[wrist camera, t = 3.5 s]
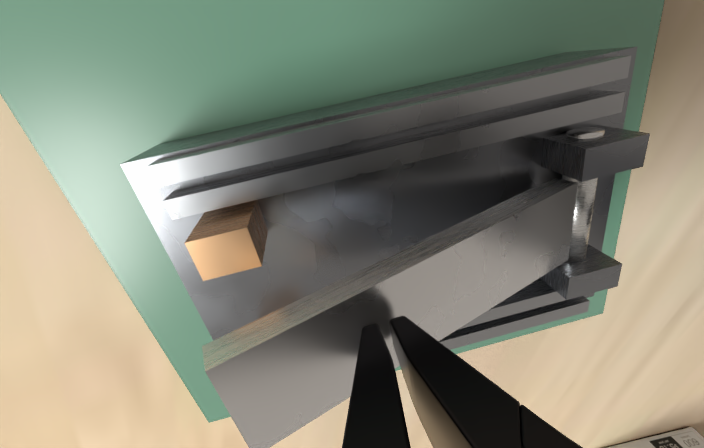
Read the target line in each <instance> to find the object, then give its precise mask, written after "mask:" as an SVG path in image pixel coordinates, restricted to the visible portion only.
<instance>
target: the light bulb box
mask: <svg viewBox="0 0 704 448" xmlns="http://www.w3.org/2000/svg"><path fill="white" fill-rule="evenodd" d="M606 448H704V437H703V436H701V435H700V434H699V433H698V432H697V431H696V430H695V429H694V428H692V427H688V428H684V429H680V430H676V431H672V432H668V433H664V434H660V435H656V436H652V437H647V438H643V439H639V440H635V441H631V442H627V443H623V444H619V445H615V446H611V447H606Z"/></svg>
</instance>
